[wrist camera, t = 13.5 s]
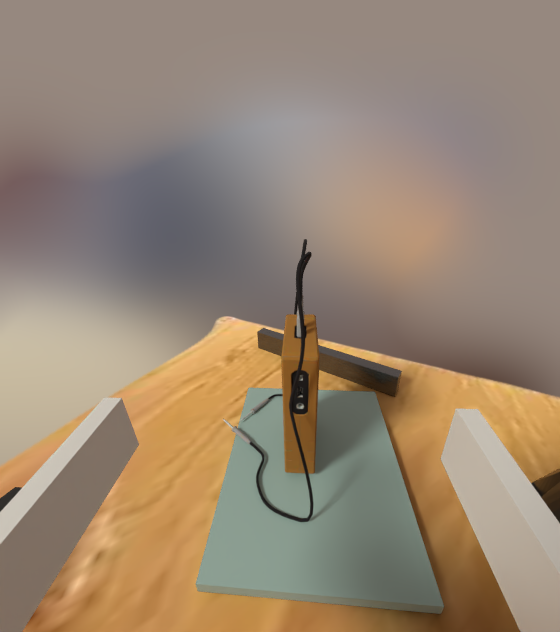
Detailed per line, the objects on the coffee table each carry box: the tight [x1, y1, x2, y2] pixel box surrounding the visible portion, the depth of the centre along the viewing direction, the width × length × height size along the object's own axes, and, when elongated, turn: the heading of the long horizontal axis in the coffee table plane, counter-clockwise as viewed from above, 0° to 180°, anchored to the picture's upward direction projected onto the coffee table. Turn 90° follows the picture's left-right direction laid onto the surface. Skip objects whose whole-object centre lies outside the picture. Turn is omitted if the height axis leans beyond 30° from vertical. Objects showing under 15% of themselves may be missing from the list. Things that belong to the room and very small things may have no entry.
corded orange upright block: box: [223, 239, 319, 522], centre depth 25 cm, size 15×10×20 cm
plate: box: [196, 388, 444, 614], centre depth 28 cm, size 16×20×1 cm
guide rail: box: [257, 328, 402, 397], centre depth 42 cm, size 22×2×3 cm, turn 56°
